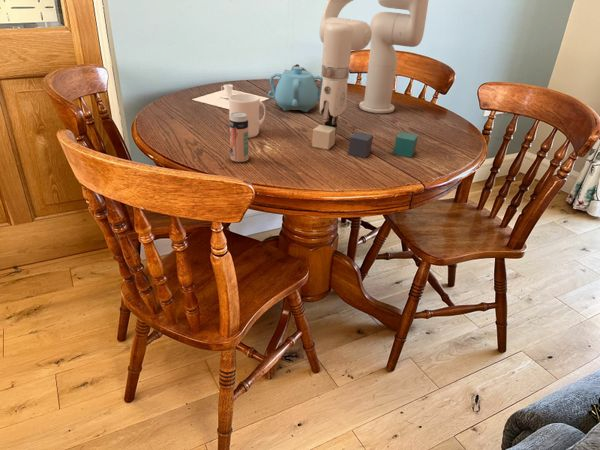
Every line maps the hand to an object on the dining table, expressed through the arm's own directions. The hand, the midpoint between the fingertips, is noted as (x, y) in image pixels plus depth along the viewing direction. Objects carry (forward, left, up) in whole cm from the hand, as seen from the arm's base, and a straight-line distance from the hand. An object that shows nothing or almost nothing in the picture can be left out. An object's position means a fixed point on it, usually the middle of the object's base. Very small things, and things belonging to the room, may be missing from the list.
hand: (329, 136), depth 136 cm
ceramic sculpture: (-51, -34, -1) cm, 61 cm away
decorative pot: (-24, -22, -1) cm, 32 cm away
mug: (+7, -23, -1) cm, 24 cm away
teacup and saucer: (-20, -46, -1) cm, 50 cm away
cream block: (+5, 0, -1) cm, 5 cm away
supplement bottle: (+26, -15, -1) cm, 30 cm away
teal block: (-2, +22, -1) cm, 22 cm away
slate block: (+5, +11, -1) cm, 12 cm away
